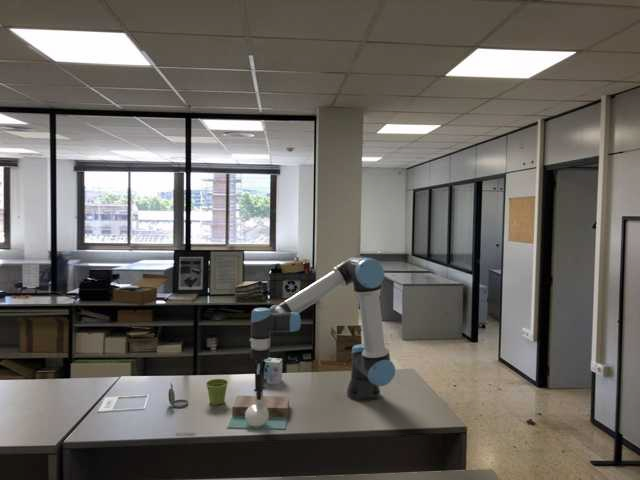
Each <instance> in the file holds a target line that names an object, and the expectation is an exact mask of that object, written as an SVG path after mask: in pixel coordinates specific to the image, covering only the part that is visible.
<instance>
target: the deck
mask: <svg viewBox="0 0 640 480" xmlns="http://www.w3.org/2000/svg"><path fill="white" fill-rule="evenodd" d="M255 404H256V395H239V394H238V395H236V398H235V399H234V401H233V405H232V410H231V411H232V413H231V417H232V416H245V412H246V410H247V409H248V408H249V407H250V406H252V405H255ZM263 406H265V407H266V408H267V410H268V413H269V417H287V418H288V415H289V409H290V396H279V395H277V396H274V395H273V396H271V395H263Z"/></svg>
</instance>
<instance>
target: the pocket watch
mask: <svg viewBox="0 0 640 480" xmlns="http://www.w3.org/2000/svg"><path fill="white" fill-rule="evenodd" d="M169 384H170V388H169V389H168V393H167V394H168V402H169V404H170V405H171V406H173V407H175V408H183V407H186V406H187V405H188V404H189V401H188V400H187V399H177V400H176V397H175V396H176V395H175V391H174V389H173V387H174V386H173V384H172V383H171V382H170V383H169Z"/></svg>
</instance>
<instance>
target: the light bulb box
mask: <svg viewBox="0 0 640 480" xmlns="http://www.w3.org/2000/svg"><path fill="white" fill-rule="evenodd" d="M264 361H265V371H264V384H267V385H268V384H270V385H279V384H280V383H281V382H282V380H283V358H277V357H269V358H268V359H265V360H264Z"/></svg>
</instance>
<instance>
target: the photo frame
mask: <svg viewBox="0 0 640 480" xmlns="http://www.w3.org/2000/svg"><path fill="white" fill-rule="evenodd" d="M145 397H146V398H145ZM129 398H131V399H132V398H145V402H144V406H143V407H136V408H132V407H131V408H121V409H119V408H117V409H115V406H116V404H117V402H118V400H119V399H129ZM149 398H150V394H142V395H140V394H139V395H138V394H137V395H122V396H107V397H106V396H105V397H104V399H103V401H102V403H101V405H100V407H99V409H98V410H97V413H111V412H124V411H125V412H126V411H139V410H140V411H141V410H142V411H143V410H146V409H147V404H148V401H149Z"/></svg>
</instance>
